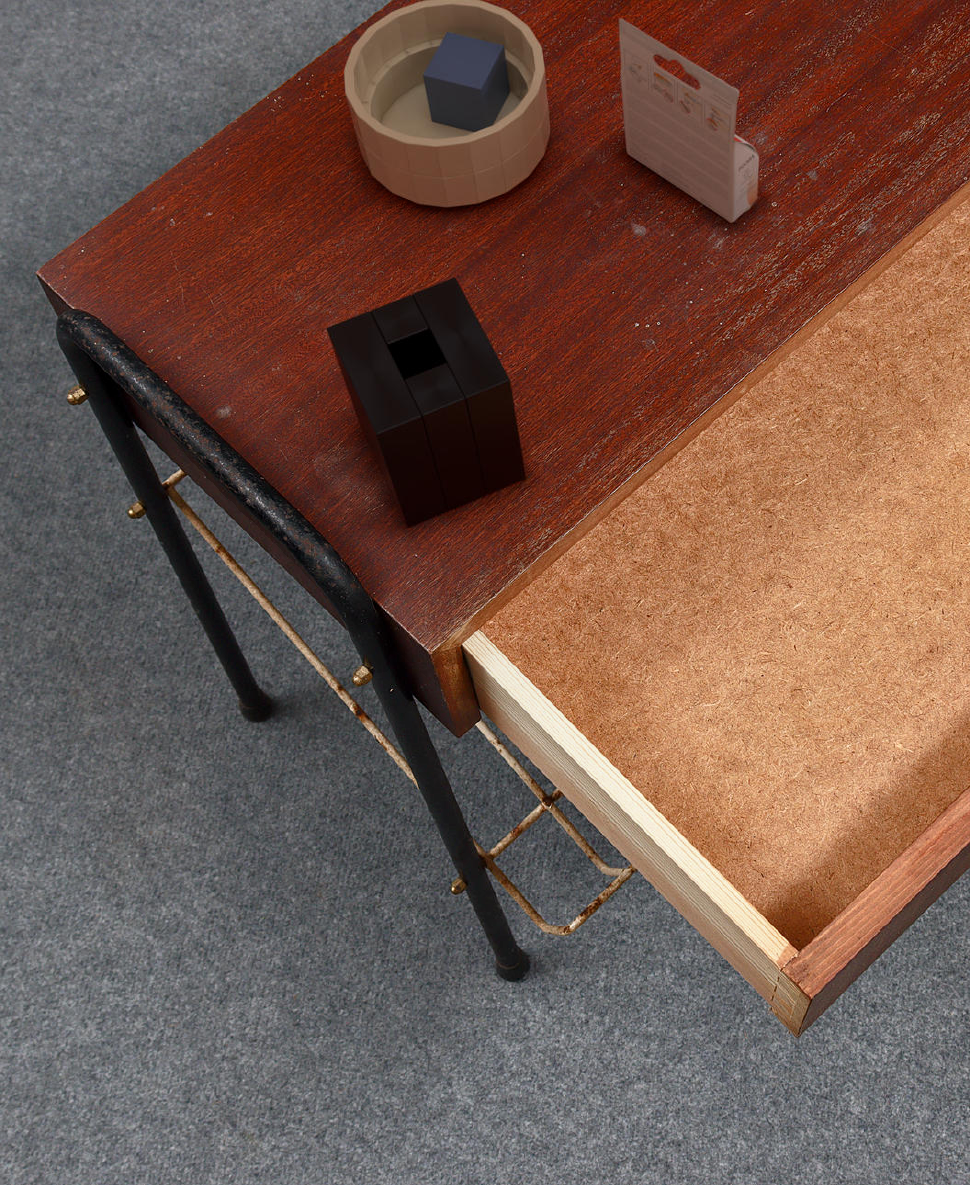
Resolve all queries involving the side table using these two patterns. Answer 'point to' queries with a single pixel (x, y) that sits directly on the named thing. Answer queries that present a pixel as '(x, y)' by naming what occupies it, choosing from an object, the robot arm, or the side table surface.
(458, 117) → the block
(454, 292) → the stand
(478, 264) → the side table surface
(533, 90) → the bowl
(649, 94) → the ink box
